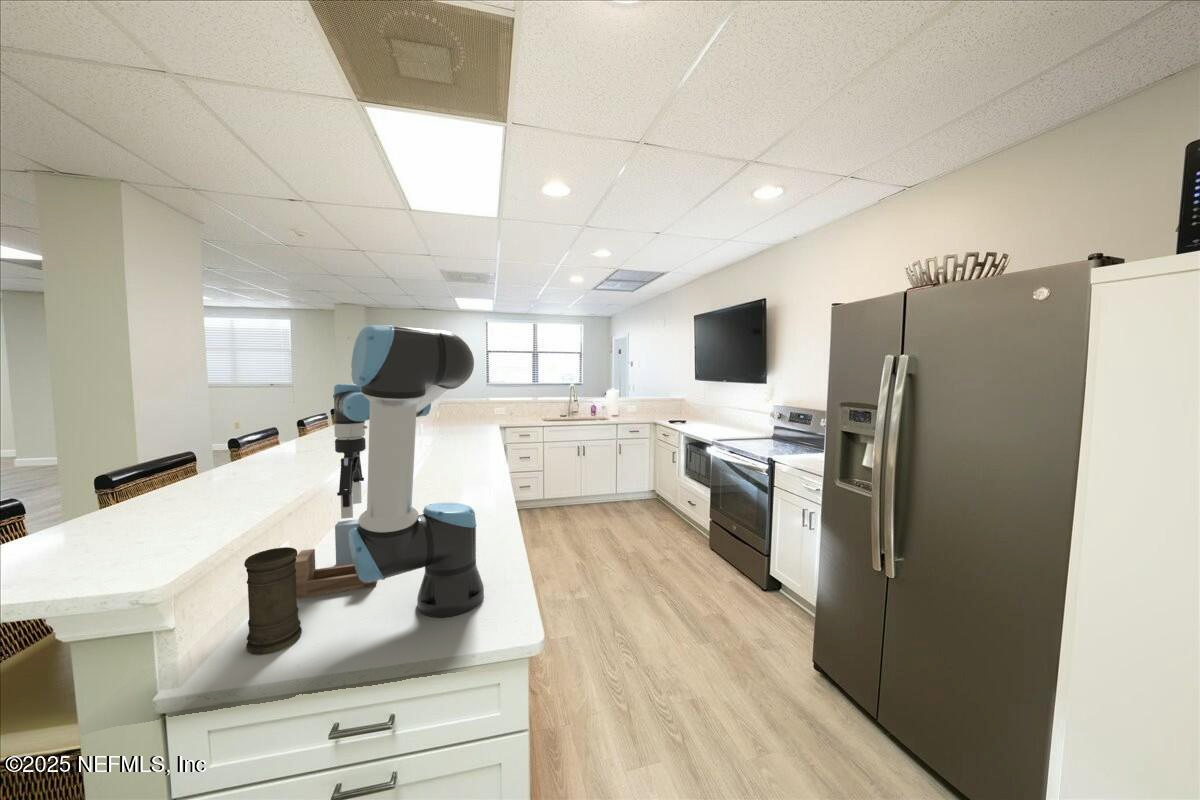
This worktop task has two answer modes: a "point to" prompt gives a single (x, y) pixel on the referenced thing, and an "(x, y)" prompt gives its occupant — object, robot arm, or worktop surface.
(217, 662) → the worktop surface
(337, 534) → the door
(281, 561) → the container
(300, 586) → the frame
